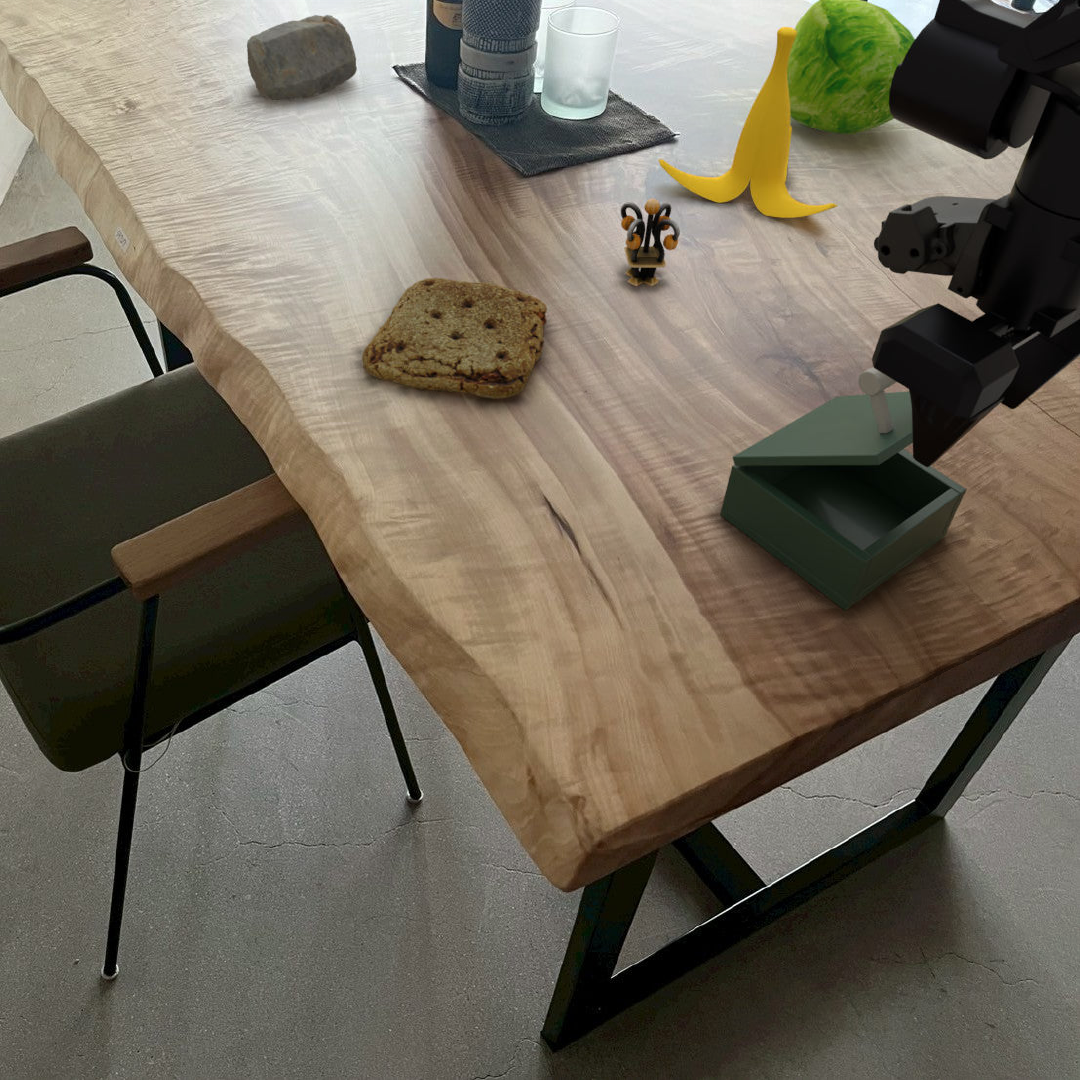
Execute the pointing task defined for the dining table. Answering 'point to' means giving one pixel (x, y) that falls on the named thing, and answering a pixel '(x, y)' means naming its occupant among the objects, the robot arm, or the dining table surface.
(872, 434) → the lid
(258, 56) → the stone
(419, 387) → the pastry
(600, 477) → the dining table surface
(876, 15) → the lettuce
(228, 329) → the dining table surface
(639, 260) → the figurine
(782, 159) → the banana peel
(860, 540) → the chest
